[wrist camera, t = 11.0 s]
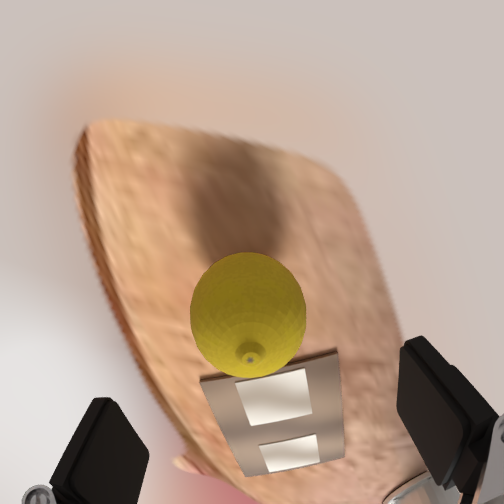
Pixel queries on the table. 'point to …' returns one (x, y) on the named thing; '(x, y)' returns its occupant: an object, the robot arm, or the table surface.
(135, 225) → the table surface
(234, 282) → the lemon
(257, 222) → the table surface
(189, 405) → the table surface
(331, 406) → the label board
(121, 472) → the robot arm
